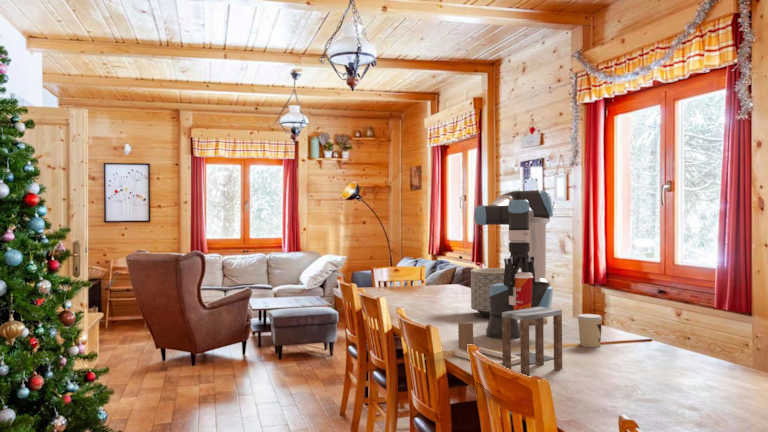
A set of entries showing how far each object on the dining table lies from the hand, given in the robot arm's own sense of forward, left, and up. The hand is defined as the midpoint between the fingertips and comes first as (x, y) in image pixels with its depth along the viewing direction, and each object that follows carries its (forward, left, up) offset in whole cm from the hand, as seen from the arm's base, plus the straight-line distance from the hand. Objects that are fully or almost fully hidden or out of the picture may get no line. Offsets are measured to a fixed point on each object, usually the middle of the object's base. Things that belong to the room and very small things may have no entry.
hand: (519, 303), depth 221 cm
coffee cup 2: (+2, +40, -21) cm, 45 cm away
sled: (-8, -9, -21) cm, 24 cm away
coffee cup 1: (+1, 0, -4) cm, 4 cm away
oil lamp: (-44, +62, -21) cm, 79 cm away
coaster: (+1, +4, -21) cm, 21 cm away
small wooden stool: (+13, -9, -21) cm, 26 cm away
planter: (-71, +62, -21) cm, 96 cm away
